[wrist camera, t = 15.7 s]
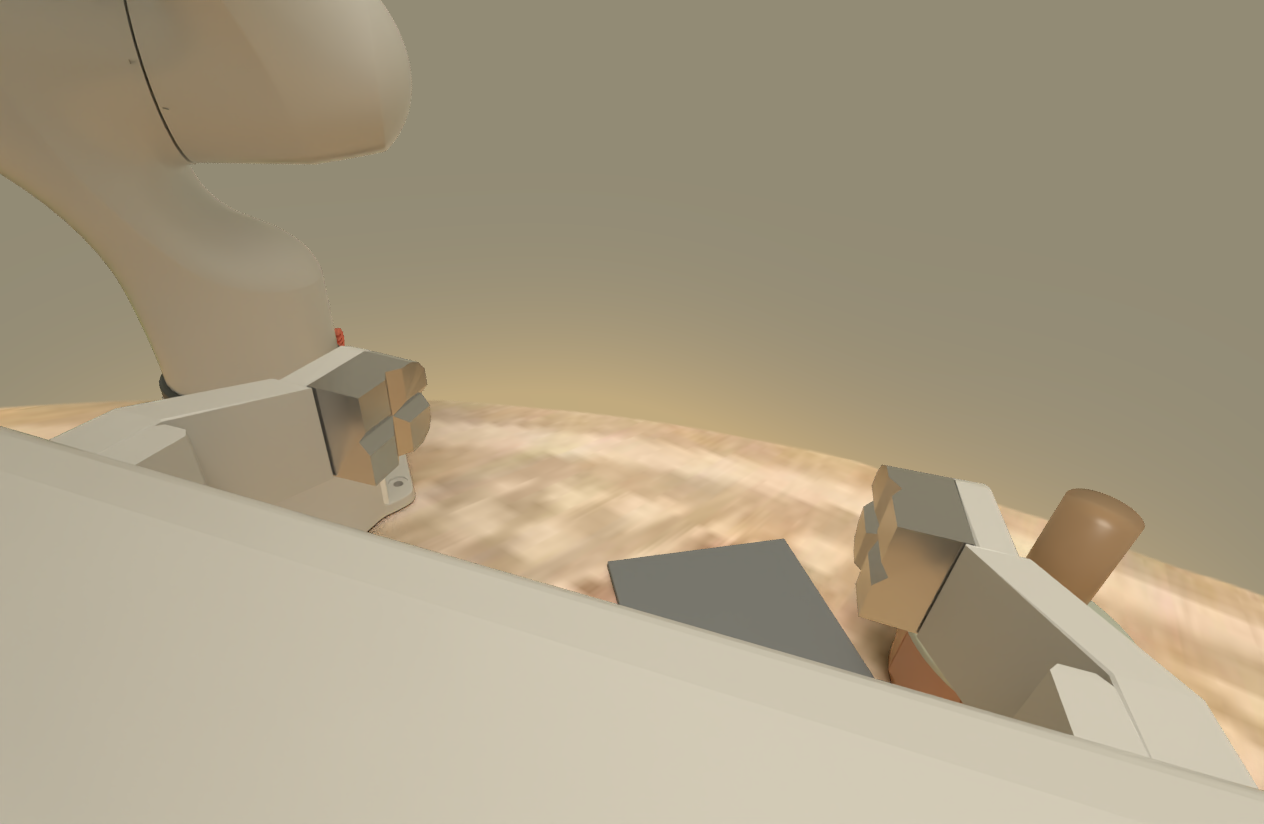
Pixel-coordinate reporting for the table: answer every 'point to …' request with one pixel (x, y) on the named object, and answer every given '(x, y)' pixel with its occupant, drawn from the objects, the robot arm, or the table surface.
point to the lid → (1080, 548)
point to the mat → (740, 598)
